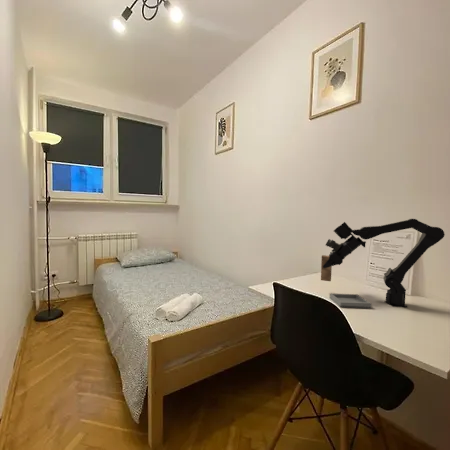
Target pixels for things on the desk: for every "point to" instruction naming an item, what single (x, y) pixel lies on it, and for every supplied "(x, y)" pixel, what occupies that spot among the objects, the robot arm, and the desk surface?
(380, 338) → the desk surface
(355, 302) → the tray
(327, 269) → the block
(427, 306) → the desk surface
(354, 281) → the desk surface
